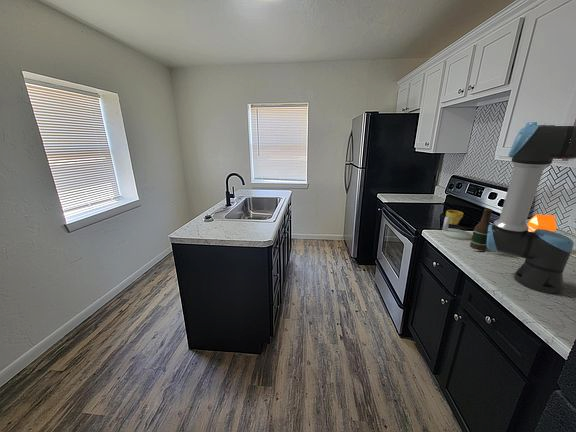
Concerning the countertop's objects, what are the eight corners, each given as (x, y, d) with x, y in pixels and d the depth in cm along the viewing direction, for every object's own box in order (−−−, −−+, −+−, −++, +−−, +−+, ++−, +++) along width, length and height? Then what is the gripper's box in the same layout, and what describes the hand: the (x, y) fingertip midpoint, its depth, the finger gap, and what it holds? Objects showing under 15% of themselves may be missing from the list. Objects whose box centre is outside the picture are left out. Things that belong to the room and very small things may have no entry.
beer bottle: (470, 250, 137) (480, 209, 130) (468, 245, 144) (478, 206, 137) (487, 253, 134) (499, 211, 127) (484, 248, 140) (495, 208, 133)
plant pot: (463, 227, 175) (467, 214, 172) (449, 226, 175) (452, 213, 172) (454, 222, 184) (457, 210, 181) (440, 222, 185) (443, 209, 182)
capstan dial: (472, 234, 158) (476, 218, 155) (470, 242, 146) (475, 225, 142) (443, 228, 167) (446, 214, 164) (439, 235, 155) (443, 219, 152)
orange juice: (548, 251, 138) (560, 217, 132) (530, 249, 140) (541, 216, 134) (537, 245, 145) (549, 213, 139) (520, 244, 147) (531, 212, 141)
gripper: (529, 153, 125) (516, 198, 132) (541, 153, 130) (528, 196, 137) (511, 152, 131) (499, 195, 138) (524, 152, 136) (511, 193, 144)
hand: (514, 196), depth 138 cm, fingers closed
